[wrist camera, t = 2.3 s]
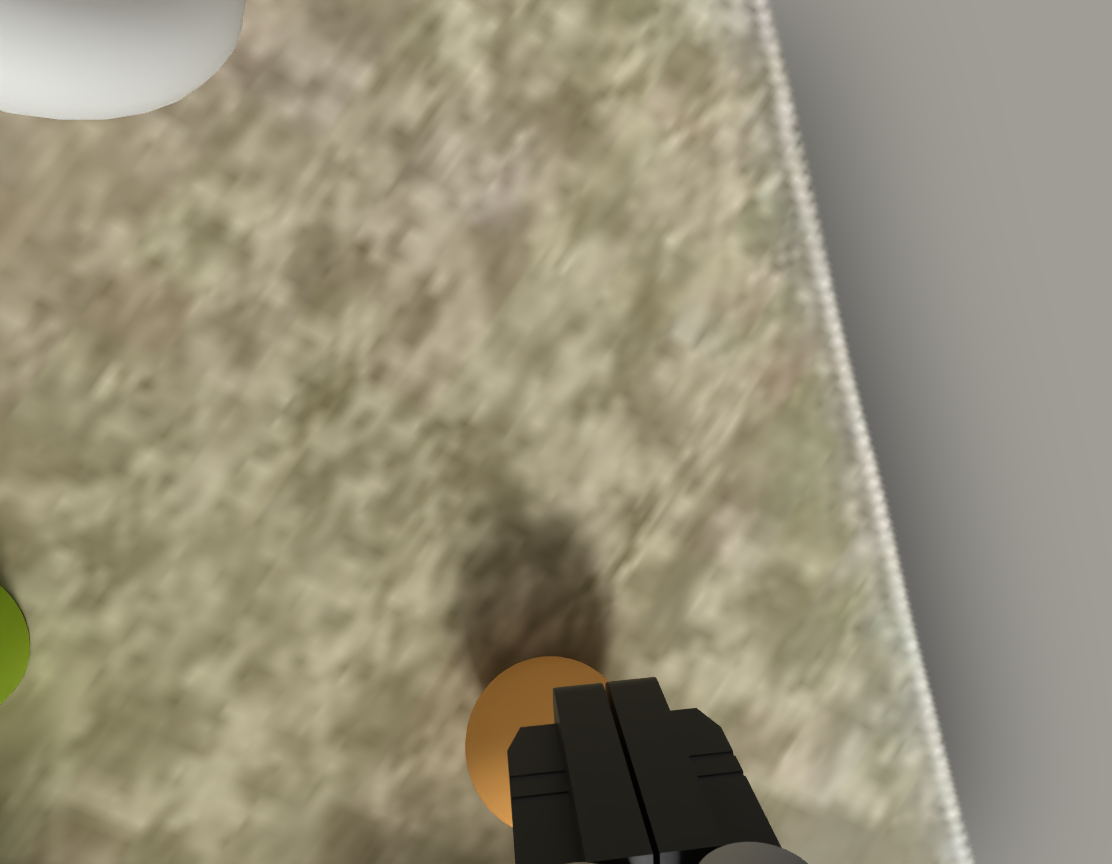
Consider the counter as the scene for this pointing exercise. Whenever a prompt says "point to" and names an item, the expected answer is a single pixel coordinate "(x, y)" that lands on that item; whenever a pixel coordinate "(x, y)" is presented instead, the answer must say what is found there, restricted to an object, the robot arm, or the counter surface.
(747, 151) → the counter surface
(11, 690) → the soap dispenser
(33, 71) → the white knot
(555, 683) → the ball
